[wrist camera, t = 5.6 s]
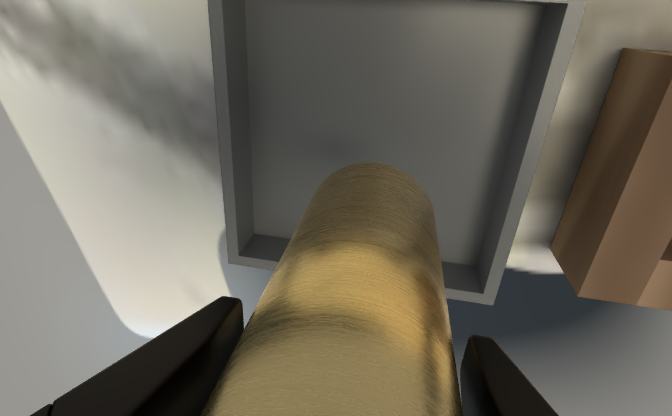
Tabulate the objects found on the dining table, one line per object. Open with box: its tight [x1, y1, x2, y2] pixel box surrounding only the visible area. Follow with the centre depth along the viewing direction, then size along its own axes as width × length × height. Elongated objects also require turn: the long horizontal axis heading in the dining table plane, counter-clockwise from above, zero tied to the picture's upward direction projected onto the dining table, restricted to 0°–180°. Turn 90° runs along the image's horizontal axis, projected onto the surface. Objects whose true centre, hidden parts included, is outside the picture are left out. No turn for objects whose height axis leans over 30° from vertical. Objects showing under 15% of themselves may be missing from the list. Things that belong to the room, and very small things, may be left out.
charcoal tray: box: [208, 0, 588, 305], centre depth 19 cm, size 14×14×3 cm
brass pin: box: [200, 162, 463, 416], centre depth 7 cm, size 6×6×12 cm
